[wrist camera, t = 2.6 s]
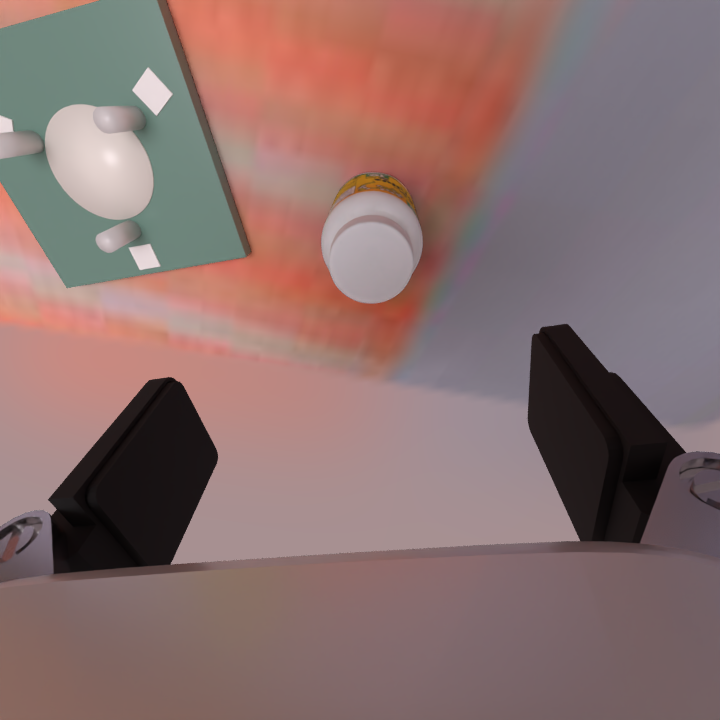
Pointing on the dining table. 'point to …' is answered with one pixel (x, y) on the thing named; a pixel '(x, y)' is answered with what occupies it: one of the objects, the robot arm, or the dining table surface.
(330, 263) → the supplement bottle
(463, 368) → the dining table surface
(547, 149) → the dining table surface
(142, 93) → the board
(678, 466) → the robot arm
